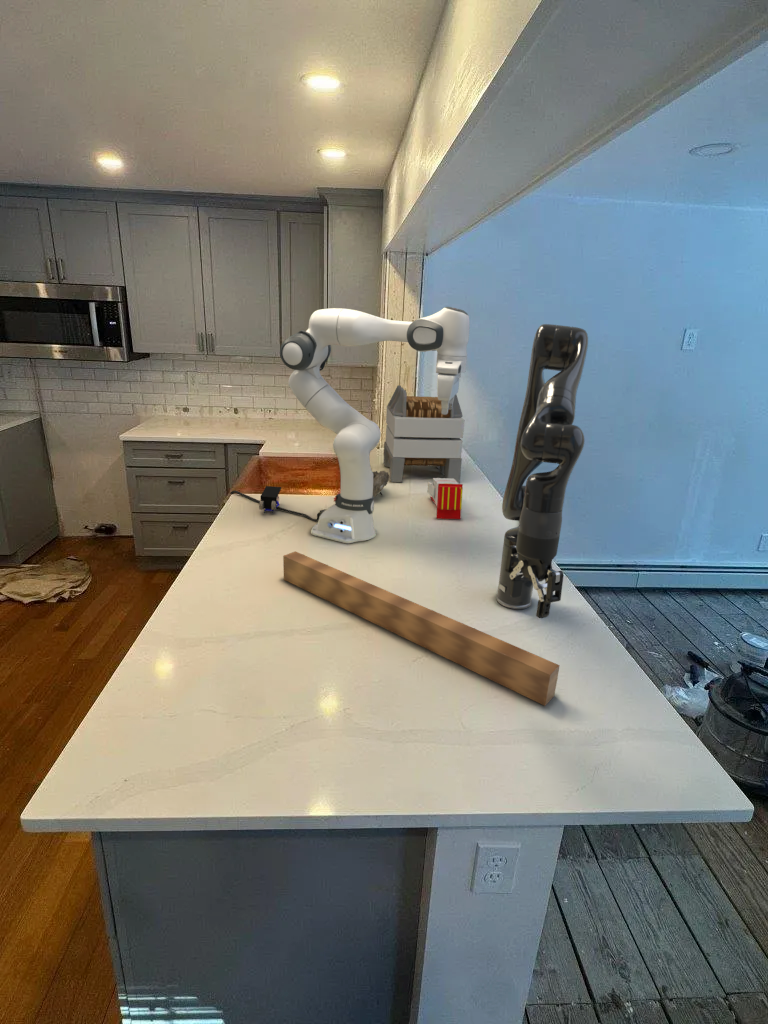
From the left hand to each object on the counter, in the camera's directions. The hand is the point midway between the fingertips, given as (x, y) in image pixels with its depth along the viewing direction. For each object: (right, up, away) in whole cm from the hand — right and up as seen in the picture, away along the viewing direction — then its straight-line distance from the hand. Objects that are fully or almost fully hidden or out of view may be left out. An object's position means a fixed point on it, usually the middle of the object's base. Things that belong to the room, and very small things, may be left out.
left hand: (446, 411), depth 174 cm
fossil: (-24, -24, +66) cm, 74 cm away
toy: (+5, -29, +55) cm, 62 cm away
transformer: (-2, -12, +101) cm, 102 cm away
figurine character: (-63, -30, +44) cm, 82 cm away
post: (-16, -60, -33) cm, 70 cm away
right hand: (+9, -49, -63) cm, 80 cm away
